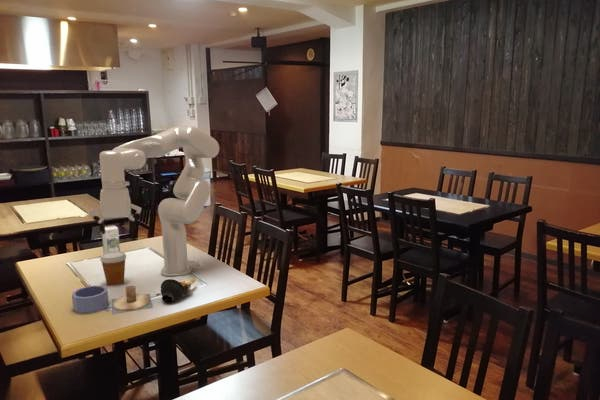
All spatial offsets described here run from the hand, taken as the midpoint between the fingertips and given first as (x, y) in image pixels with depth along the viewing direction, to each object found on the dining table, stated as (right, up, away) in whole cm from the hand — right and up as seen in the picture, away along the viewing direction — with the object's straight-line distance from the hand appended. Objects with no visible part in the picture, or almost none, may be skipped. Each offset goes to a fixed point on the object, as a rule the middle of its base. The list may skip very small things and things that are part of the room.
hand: (118, 232), depth 164 cm
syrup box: (-22, -15, +47) cm, 54 cm away
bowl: (-6, -26, -7) cm, 27 cm away
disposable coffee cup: (-7, -22, +15) cm, 27 cm away
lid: (+7, -25, -5) cm, 26 cm away
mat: (+7, -25, -5) cm, 27 cm away
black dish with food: (+22, -24, +2) cm, 33 cm away
